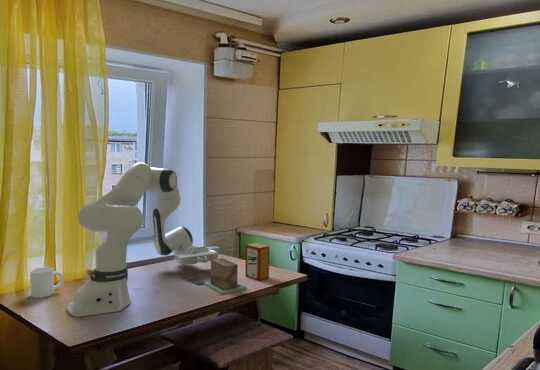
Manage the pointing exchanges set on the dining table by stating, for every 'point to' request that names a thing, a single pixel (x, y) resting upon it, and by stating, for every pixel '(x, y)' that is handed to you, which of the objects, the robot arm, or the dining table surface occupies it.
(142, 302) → the dining table surface
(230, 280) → the walnut block
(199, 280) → the trap mat left
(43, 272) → the mug
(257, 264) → the baking soda box
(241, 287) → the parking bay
